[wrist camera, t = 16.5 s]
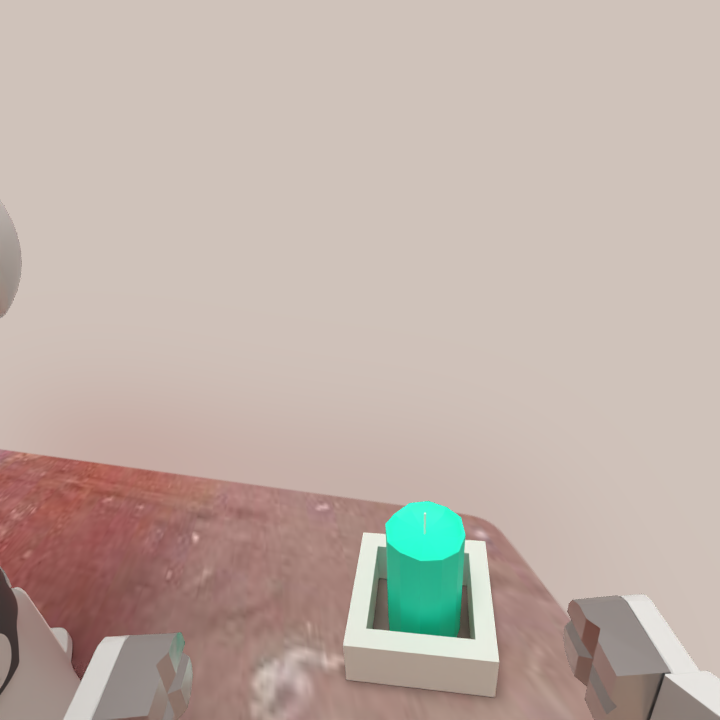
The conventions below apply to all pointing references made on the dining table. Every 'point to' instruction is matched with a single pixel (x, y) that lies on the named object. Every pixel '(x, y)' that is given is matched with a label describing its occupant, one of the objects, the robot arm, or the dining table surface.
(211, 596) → the dining table surface
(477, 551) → the frame
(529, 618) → the dining table surface
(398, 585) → the candle
